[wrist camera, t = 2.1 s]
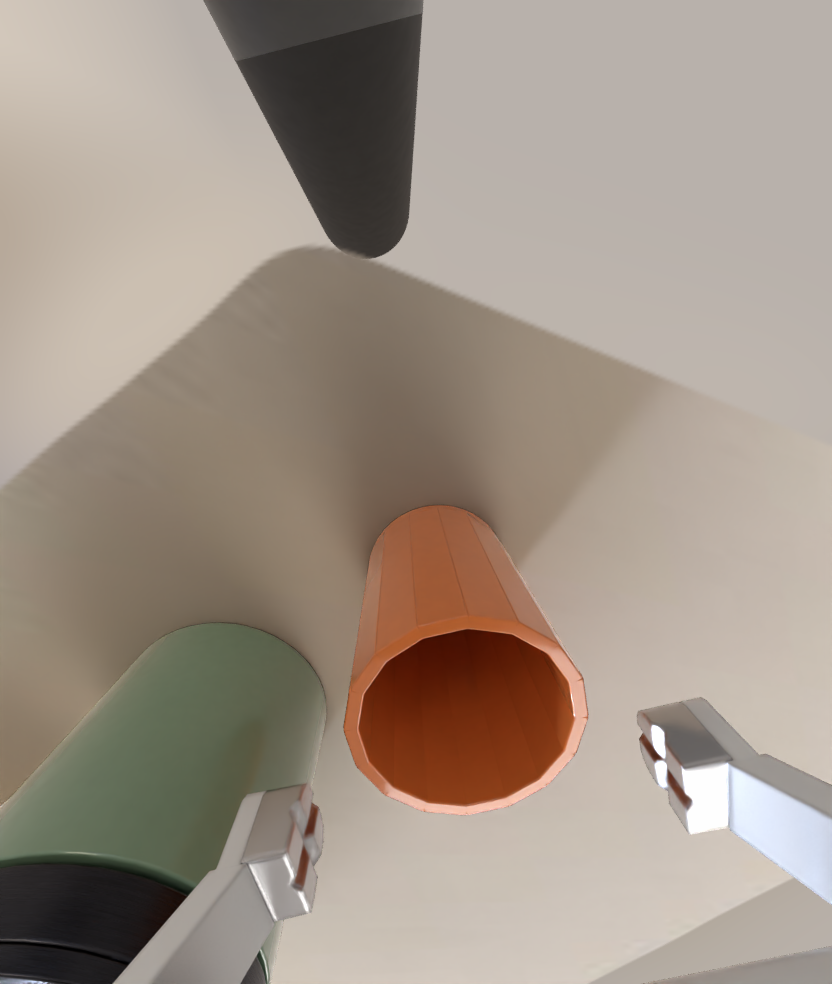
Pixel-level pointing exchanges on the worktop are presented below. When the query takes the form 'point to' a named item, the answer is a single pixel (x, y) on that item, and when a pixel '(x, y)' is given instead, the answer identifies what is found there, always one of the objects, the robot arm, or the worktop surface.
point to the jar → (173, 760)
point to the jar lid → (80, 923)
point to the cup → (457, 671)
